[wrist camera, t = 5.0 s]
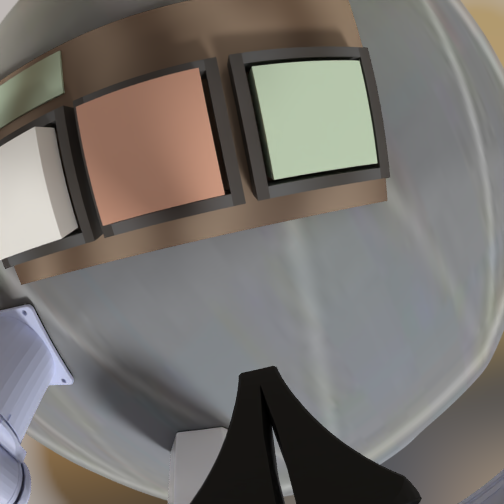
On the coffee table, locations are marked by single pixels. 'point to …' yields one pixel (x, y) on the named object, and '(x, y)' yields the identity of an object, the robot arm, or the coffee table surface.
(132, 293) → the coffee table surface
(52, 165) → the key white
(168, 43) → the console
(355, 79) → the key sage
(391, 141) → the coffee table surface
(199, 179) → the key terracotta
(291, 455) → the robot arm
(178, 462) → the jar
